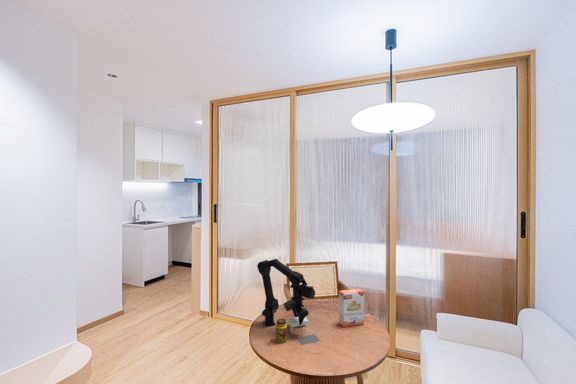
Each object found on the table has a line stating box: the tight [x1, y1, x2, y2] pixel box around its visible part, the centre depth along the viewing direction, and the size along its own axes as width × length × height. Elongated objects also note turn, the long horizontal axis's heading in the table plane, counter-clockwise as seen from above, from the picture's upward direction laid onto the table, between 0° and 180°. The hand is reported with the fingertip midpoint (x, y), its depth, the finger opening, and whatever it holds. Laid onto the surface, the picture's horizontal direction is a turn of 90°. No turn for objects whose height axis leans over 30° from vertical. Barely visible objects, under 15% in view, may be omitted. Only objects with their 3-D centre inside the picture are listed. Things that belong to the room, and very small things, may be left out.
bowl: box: [289, 324, 307, 336], centre depth 168 cm, size 9×9×4 cm
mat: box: [295, 334, 321, 346], centre depth 158 cm, size 8×12×1 cm
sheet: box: [287, 316, 310, 327], centre depth 168 cm, size 7×10×2 cm
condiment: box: [275, 318, 288, 344], centre depth 158 cm, size 7×8×12 cm
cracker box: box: [339, 288, 365, 328], centre depth 177 cm, size 14×6×21 cm, turn 105°
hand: (298, 322), depth 168 cm, fingers closed on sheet, 7 cm apart
